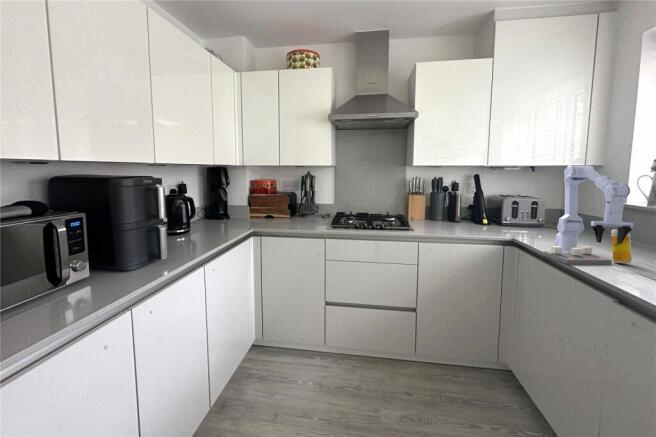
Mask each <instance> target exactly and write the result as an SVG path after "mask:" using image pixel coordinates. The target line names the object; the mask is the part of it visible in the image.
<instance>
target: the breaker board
mask: <svg viewBox="0 0 656 437" xmlns="http://www.w3.org/2000/svg"><path fill="white" fill-rule="evenodd" d="M542 256H543V257H547V258H549V259H551V260H554V261H557V262H559V263H561V264H565V265H592V266H593V265H597V266H598V265H599V264H601V265H605V266H606V265H608V266H609V265H610V266H611V265H612V264H613V263H612V262H613V259H609V258H605V257H603V256H600V255H596V254H593V253H592V254H584V253H582V255H572V254H570V252H564V251H562V254H560V253H552V252H551V250H550V251H549V250H547V251H543V253H542Z"/></svg>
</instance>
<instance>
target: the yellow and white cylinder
mask: <svg viewBox="0 0 656 437" xmlns="http://www.w3.org/2000/svg"><path fill="white" fill-rule="evenodd" d="M610 233H611V234H610V235H611V246H612V247H611V250H612V262H614V263H615V264H631V263H632V261H633V259H632V258H633V257H632V256H633V255H632V244H631V231H630V232H629V233H628V234H627V236H626V237H625V239H624V240H623V242H622V244H619V243H617V237H618V228H616V229H615V228H614V229H612V230H611V232H610Z"/></svg>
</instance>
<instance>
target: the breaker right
mask: <svg viewBox="0 0 656 437" xmlns="http://www.w3.org/2000/svg"><path fill="white" fill-rule="evenodd" d="M579 248H581V249H583V252H582V253H584V254H593V253H592V252H593V247H591V246H588V245H587V246H586V245H585V246H584V245H581V246H580V247H579Z"/></svg>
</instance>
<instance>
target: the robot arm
mask: <svg viewBox="0 0 656 437" xmlns="http://www.w3.org/2000/svg"><path fill="white" fill-rule="evenodd" d="M563 176H564V178H563V181H564V215H562V216H561V217H559V219H558V224H557V226H556V227H557V231H558V233H557V234H556V236H555V239H554V246H560V247H563V250H562V252H571V248H578V240H579V235H581V233H583V231H584V230H585V226H584V223H583V222H584V221H583V217H581V216H579V215H578V213H579V212H578V210H579V185H580V184H581V183H583V182H585V181H587V179H588V180H590V181H592V182H594V185H595V187H596V188H598V189H599V190H601V191H602V192H603V194H604V200H605V206H604V207H605V209H604V214H603V220H591V222H590V226H591V228H592V230H593V232H594V235H595V240H596V242H597V243H602V240H603V234H604V232H605V229H606V228H605V227H611V228H613V227H615V228H616V229H618V237H617V243H619V244H622V242H623V240H624V239H625V237H626V236H627V234H628V233H629V232H630V233H631V231H632V229H633V228H634V224H635V223H634V222H624V221H623V219H622V218H623V215H624V214H623V213H624V206H625V199H626V198H627V197H628V196H629V195H630V193H631V188H630V186H629V185H628V184H626V183H622V184H621V183H620V182H618V181H617V180H614V179H612V177H611V176H610V175H601V174H600V173H599V172H597V171H596V170H595V167H594V166H592V165H590V164H587V165H581V164H580V165H579V164H578V165H575V164H574V165H573V164H569V165H568V166H566V168H565V169H564V174H563Z"/></svg>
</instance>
